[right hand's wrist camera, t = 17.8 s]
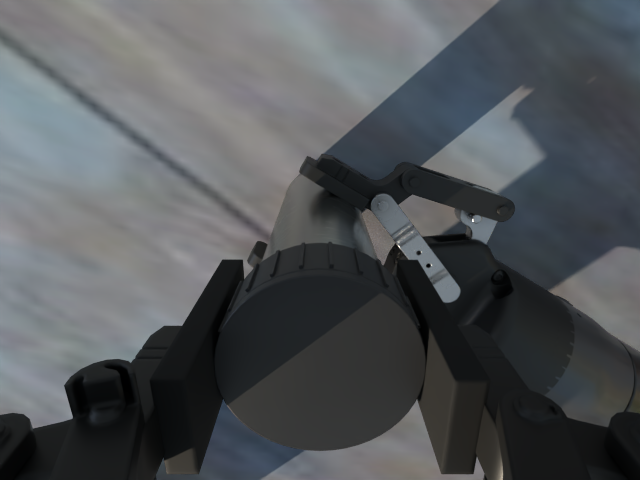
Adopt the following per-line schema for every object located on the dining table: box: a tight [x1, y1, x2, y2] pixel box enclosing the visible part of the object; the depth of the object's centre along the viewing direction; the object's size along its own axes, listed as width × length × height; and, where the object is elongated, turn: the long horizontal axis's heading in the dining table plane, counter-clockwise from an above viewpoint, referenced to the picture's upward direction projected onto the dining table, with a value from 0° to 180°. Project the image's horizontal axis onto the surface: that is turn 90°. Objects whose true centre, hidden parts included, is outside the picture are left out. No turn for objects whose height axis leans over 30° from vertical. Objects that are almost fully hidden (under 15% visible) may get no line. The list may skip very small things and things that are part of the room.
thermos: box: [262, 174, 378, 261], centre depth 19 cm, size 5×5×17 cm
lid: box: [214, 242, 426, 451], centre depth 12 cm, size 6×6×2 cm
